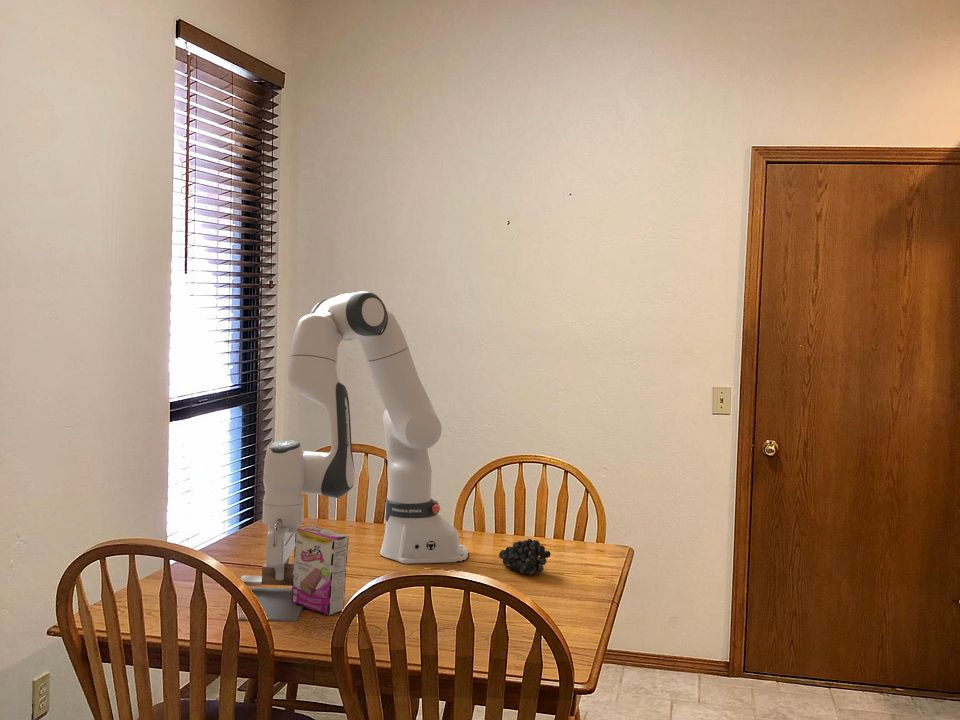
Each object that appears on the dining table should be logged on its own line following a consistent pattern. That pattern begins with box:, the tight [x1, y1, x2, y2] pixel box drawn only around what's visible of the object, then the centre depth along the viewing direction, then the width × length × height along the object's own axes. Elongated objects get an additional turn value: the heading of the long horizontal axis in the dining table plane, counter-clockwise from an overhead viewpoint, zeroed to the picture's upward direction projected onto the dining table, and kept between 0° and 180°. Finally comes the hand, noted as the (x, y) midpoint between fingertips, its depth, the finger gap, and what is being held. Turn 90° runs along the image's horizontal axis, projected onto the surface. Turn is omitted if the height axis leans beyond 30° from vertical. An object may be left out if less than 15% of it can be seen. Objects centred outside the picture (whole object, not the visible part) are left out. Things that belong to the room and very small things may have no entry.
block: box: [239, 562, 294, 587], centre depth 218 cm, size 13×4×4 cm, turn 91°
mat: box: [238, 587, 304, 622], centre depth 211 cm, size 14×20×1 cm
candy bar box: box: [291, 525, 349, 616], centre depth 208 cm, size 11×5×16 cm, turn 57°
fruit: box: [498, 538, 552, 576], centre depth 242 cm, size 9×8×15 cm
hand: (282, 576), depth 218 cm, fingers closed on block, 3 cm apart
